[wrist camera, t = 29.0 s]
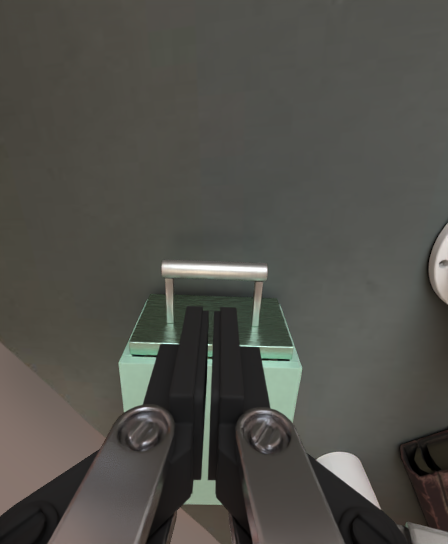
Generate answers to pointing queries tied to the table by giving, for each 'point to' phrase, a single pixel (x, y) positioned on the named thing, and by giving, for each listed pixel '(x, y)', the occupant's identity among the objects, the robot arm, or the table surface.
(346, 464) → the cylindrical container
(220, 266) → the fridge drawer
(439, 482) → the diary
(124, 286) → the table surface
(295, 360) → the fridge
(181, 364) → the robot arm
